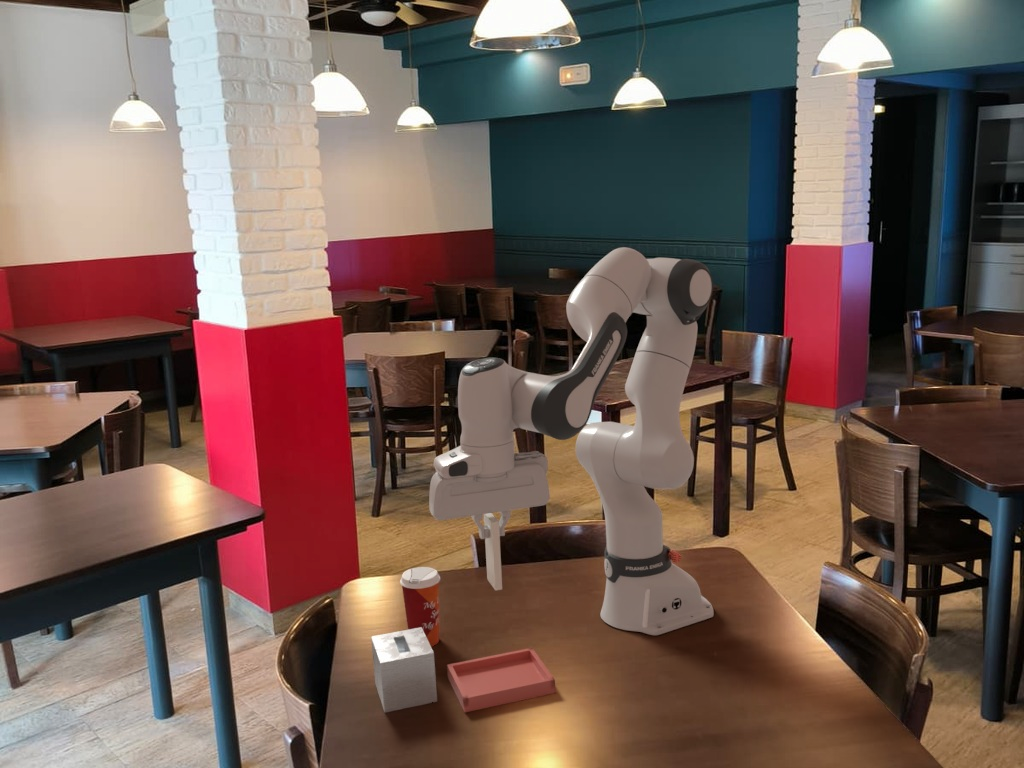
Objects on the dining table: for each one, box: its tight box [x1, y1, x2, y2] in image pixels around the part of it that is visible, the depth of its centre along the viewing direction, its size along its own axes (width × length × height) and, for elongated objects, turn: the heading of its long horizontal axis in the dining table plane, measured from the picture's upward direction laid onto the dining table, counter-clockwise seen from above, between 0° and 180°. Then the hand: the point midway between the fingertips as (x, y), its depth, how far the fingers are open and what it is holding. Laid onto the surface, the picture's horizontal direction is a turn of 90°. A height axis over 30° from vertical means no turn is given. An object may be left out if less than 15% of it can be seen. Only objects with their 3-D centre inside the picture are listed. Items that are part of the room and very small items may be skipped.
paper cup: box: [399, 566, 441, 648], centre depth 171 cm, size 8×8×14 cm
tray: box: [446, 647, 556, 713], centre depth 155 cm, size 16×12×2 cm
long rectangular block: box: [483, 513, 503, 591], centre depth 150 cm, size 1×5×12 cm, turn 17°
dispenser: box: [370, 627, 438, 713], centre depth 153 cm, size 9×10×9 cm
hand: (492, 536), depth 150 cm, fingers closed on long rectangular block, 1 cm apart
